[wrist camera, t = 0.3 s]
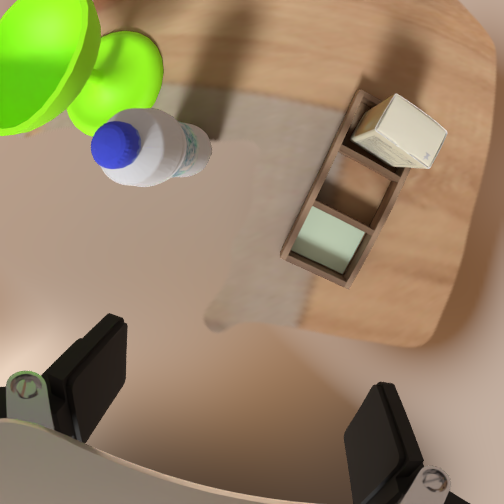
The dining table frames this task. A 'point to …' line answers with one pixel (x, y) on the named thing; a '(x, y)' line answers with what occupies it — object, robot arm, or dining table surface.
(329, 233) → the mat
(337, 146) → the notch rack
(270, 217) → the dining table surface
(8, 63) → the wineglass
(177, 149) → the bottle
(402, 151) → the skincare box
